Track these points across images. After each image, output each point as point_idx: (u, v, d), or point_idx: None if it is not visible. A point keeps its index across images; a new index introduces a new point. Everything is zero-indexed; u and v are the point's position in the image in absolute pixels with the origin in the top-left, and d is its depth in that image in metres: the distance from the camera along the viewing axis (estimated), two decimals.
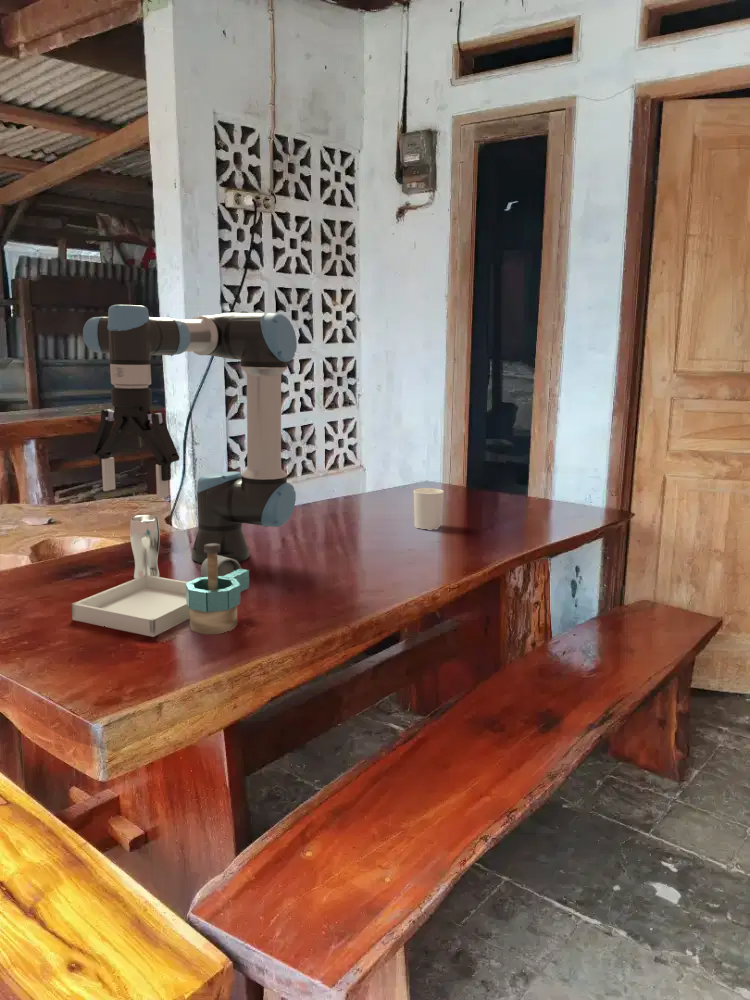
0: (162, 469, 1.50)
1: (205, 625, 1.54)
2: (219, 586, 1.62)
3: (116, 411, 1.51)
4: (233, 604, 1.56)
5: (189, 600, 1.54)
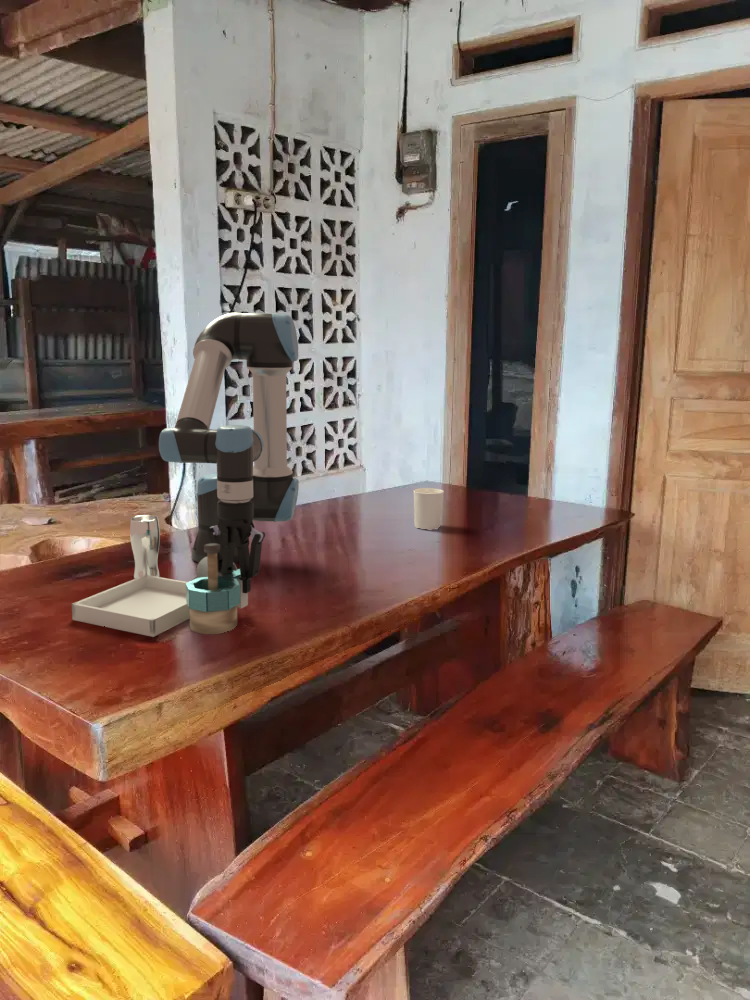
0: (243, 583, 1.64)
1: (205, 625, 1.54)
2: (219, 586, 1.62)
3: (219, 521, 1.63)
4: (233, 604, 1.56)
5: (189, 600, 1.54)
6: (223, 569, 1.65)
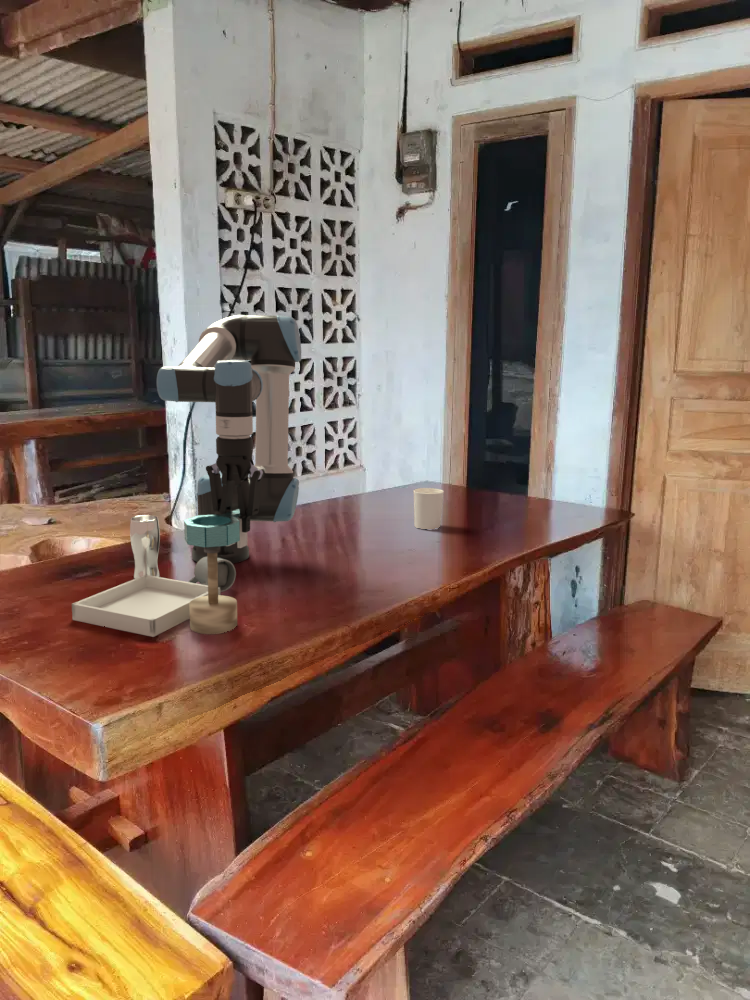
0: (242, 522, 1.62)
1: (205, 625, 1.54)
2: (218, 524, 1.59)
3: (217, 459, 1.61)
4: (232, 541, 1.53)
5: (187, 536, 1.52)
6: (222, 508, 1.62)
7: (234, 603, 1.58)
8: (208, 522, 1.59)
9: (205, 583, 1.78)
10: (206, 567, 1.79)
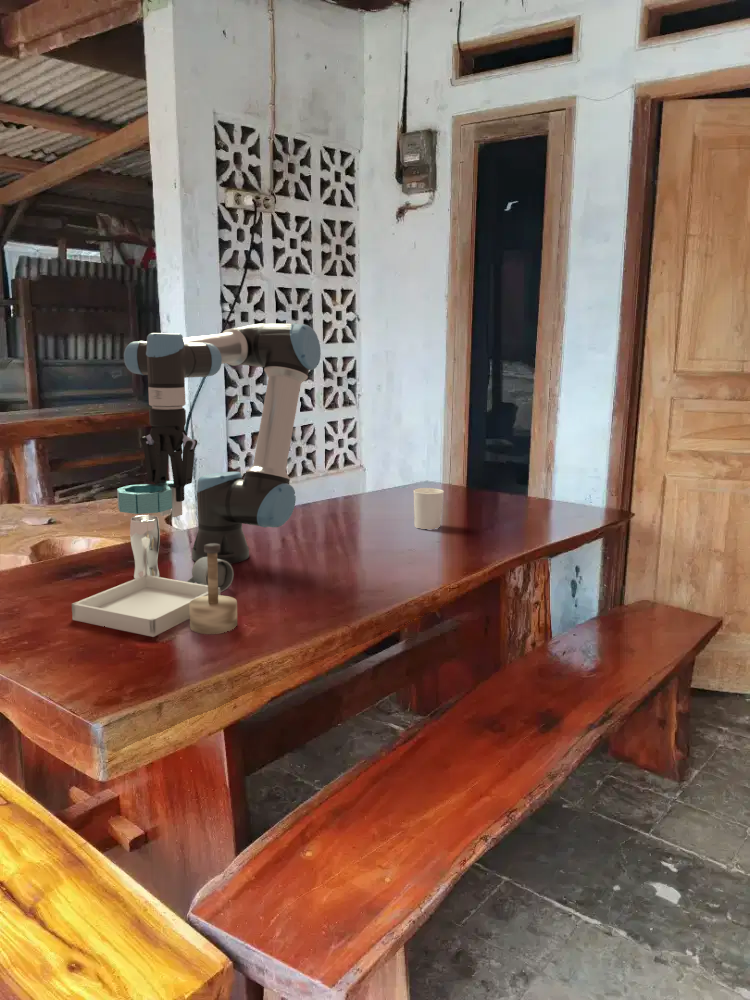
0: (176, 491, 1.66)
1: (205, 625, 1.54)
2: None
3: (151, 430, 1.65)
4: (164, 508, 1.57)
5: (120, 503, 1.55)
6: (156, 478, 1.66)
7: (234, 603, 1.58)
8: (142, 491, 1.62)
9: (203, 584, 1.78)
10: (204, 567, 1.79)
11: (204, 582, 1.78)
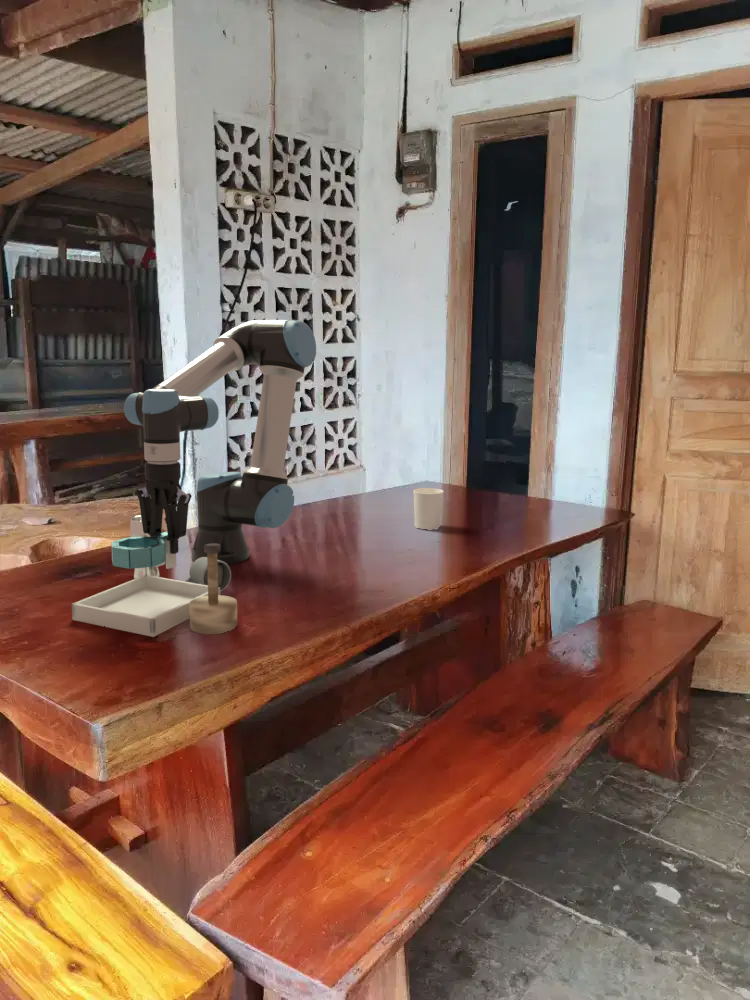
0: (171, 543, 1.68)
1: (205, 625, 1.54)
2: (146, 546, 1.66)
3: (147, 483, 1.67)
4: (156, 562, 1.60)
5: (113, 557, 1.58)
6: (151, 530, 1.69)
7: (234, 603, 1.58)
8: (136, 544, 1.65)
9: None
10: (201, 568, 1.78)
11: (201, 582, 1.77)
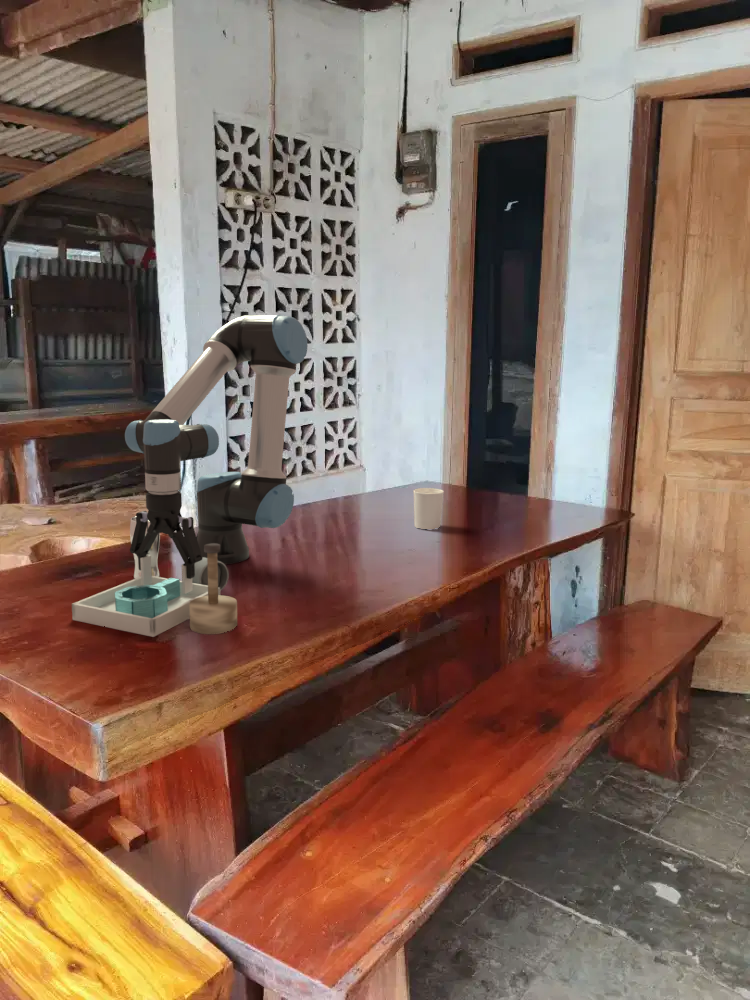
0: (187, 568, 1.68)
1: (205, 625, 1.54)
2: (148, 595, 1.68)
3: (149, 512, 1.69)
4: (159, 613, 1.62)
5: (116, 608, 1.61)
6: (139, 551, 1.72)
7: (234, 603, 1.58)
8: (139, 593, 1.68)
9: None
10: (198, 568, 1.78)
11: (199, 583, 1.77)
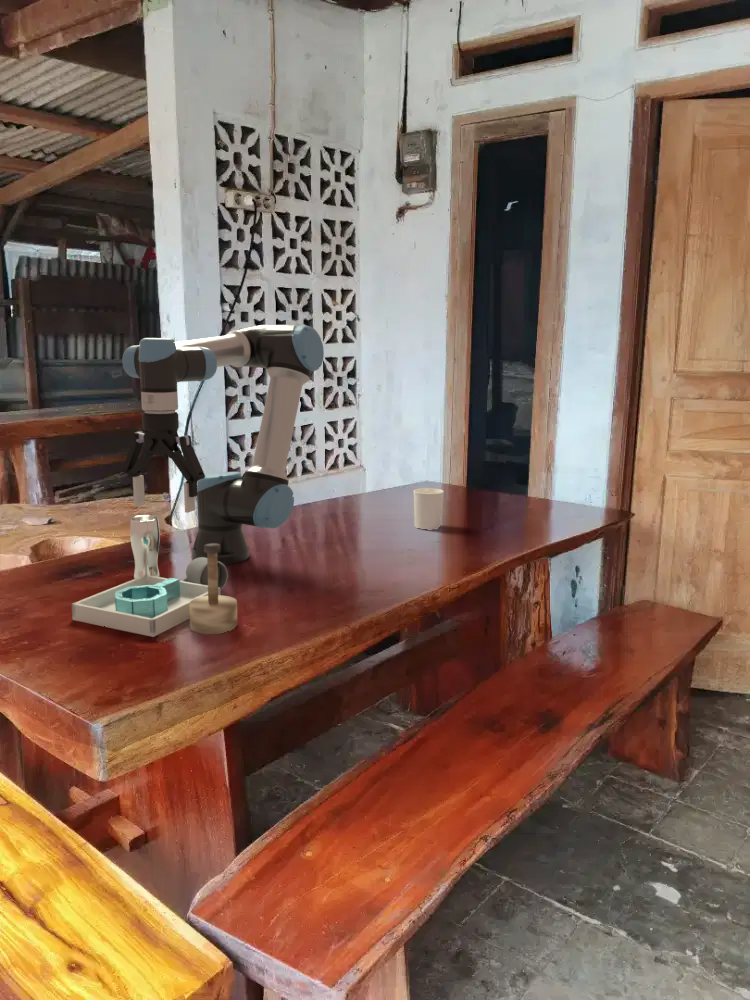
0: (189, 486, 1.65)
1: (205, 625, 1.54)
2: (148, 595, 1.68)
3: (146, 434, 1.66)
4: (159, 613, 1.62)
5: (116, 608, 1.61)
6: (132, 470, 1.69)
7: (234, 603, 1.58)
8: (139, 593, 1.68)
9: None
10: (198, 568, 1.78)
11: (198, 583, 1.77)
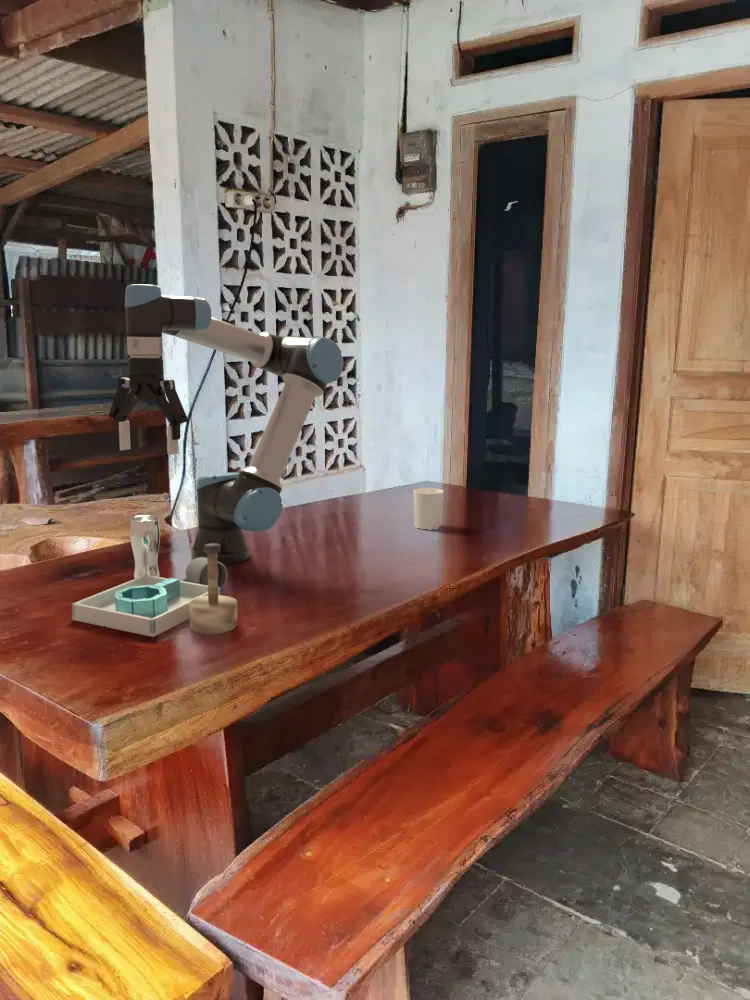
0: (173, 429, 1.70)
1: (205, 625, 1.54)
2: (148, 595, 1.68)
3: (132, 379, 1.71)
4: (159, 613, 1.62)
5: (116, 608, 1.61)
6: (118, 415, 1.75)
7: (234, 603, 1.58)
8: (139, 593, 1.68)
9: None
10: (197, 568, 1.78)
11: (197, 583, 1.77)
